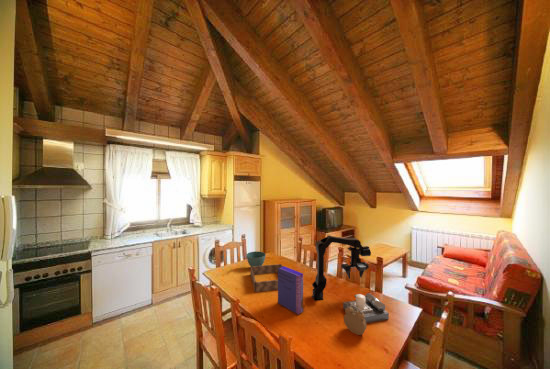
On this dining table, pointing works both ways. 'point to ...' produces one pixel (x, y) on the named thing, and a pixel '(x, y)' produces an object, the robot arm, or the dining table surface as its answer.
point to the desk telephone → (371, 309)
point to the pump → (360, 302)
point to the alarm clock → (355, 320)
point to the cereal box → (290, 289)
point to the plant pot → (256, 258)
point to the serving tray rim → (264, 284)
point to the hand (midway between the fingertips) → (355, 278)
